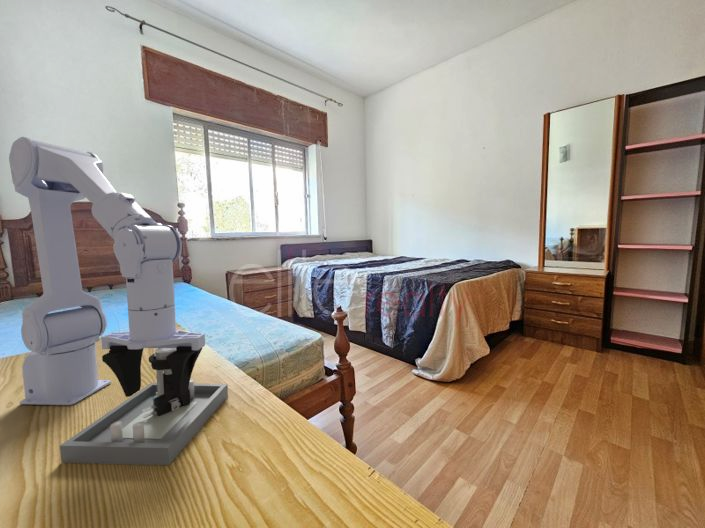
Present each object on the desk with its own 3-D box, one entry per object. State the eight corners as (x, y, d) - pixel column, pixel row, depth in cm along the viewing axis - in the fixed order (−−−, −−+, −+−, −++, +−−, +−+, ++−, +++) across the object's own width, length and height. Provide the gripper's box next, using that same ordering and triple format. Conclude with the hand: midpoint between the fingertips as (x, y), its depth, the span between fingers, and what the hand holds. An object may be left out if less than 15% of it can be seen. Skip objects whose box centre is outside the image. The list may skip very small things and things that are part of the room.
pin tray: (61, 462, 36) (58, 434, 36) (152, 394, 52) (151, 374, 52) (169, 465, 36) (167, 436, 36) (227, 396, 52) (227, 375, 52)
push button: (150, 427, 42) (145, 361, 41) (136, 414, 45) (132, 352, 44) (196, 405, 47) (193, 347, 47) (181, 395, 50) (178, 340, 50)
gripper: (78, 312, 39) (86, 408, 40) (183, 313, 38) (188, 410, 40) (121, 301, 46) (127, 382, 47) (210, 302, 46) (214, 384, 47)
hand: (157, 393), depth 44 cm, fingers open, 7 cm apart
